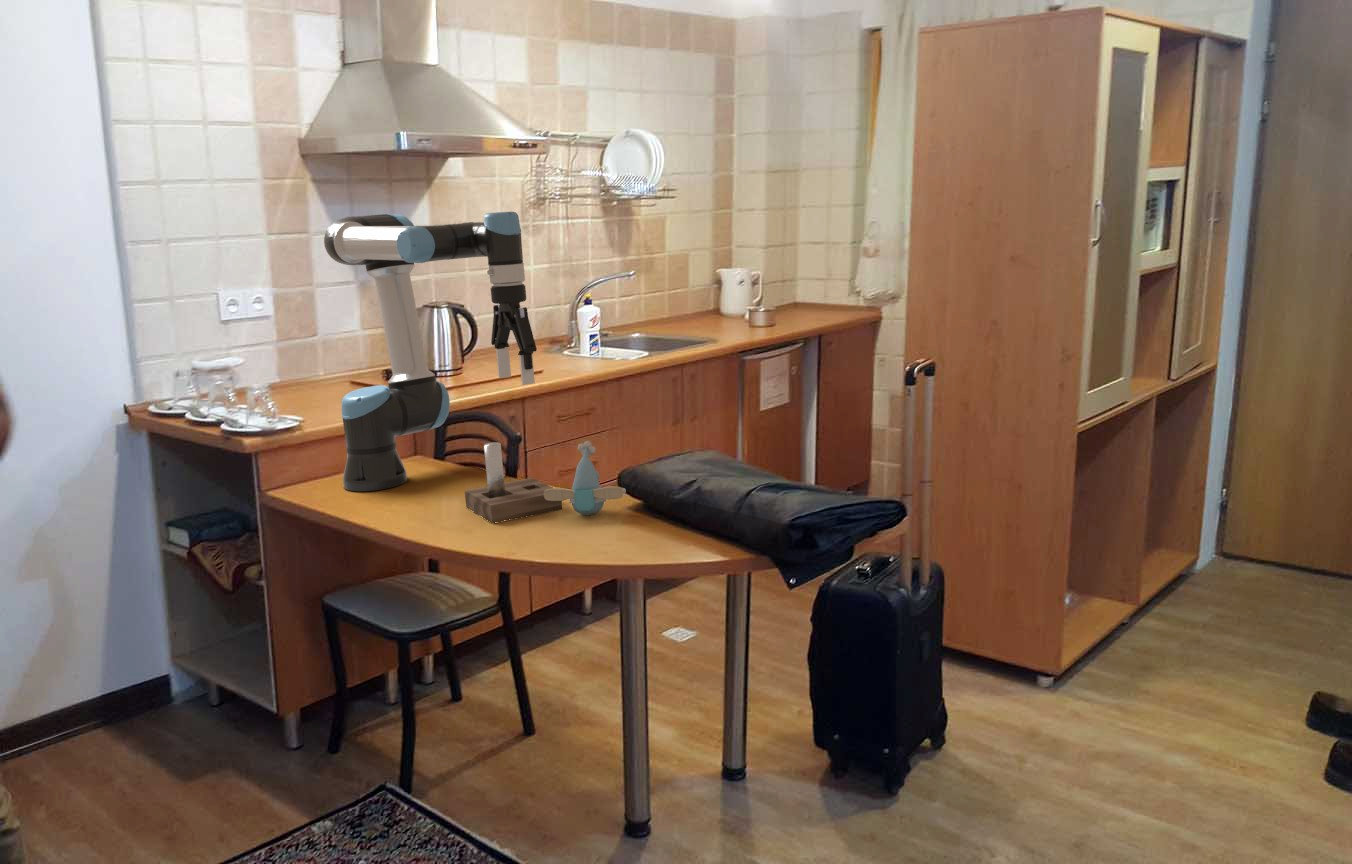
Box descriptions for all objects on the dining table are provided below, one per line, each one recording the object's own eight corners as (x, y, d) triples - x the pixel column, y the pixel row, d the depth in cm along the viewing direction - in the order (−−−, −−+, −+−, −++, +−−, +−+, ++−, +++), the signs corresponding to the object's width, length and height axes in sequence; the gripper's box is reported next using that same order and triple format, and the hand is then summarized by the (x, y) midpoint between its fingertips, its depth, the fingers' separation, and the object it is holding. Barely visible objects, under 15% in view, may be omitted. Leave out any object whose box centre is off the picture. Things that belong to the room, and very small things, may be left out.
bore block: (466, 507, 245) (464, 490, 244) (533, 494, 252) (531, 477, 252) (492, 523, 231) (490, 505, 230) (562, 509, 239) (560, 491, 238)
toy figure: (631, 505, 238) (626, 437, 235) (624, 519, 228) (619, 449, 225) (555, 508, 240) (549, 440, 237) (545, 522, 230) (539, 452, 227)
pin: (487, 507, 240) (481, 444, 238) (502, 504, 242) (496, 441, 239) (493, 510, 237) (487, 447, 235) (509, 507, 239) (503, 444, 236)
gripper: (471, 283, 249) (480, 376, 254) (513, 288, 228) (522, 389, 233) (502, 280, 253) (511, 372, 257) (546, 284, 232) (554, 384, 236)
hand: (516, 380), depth 245 cm, fingers open, 13 cm apart
